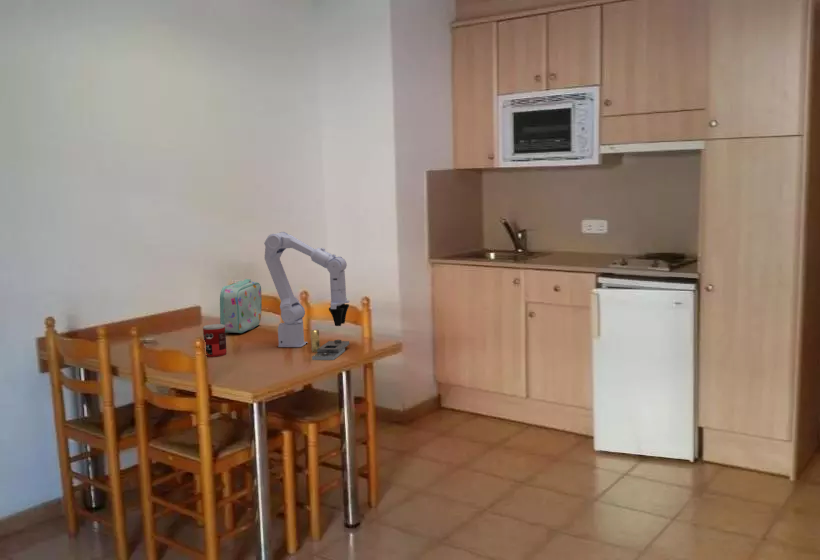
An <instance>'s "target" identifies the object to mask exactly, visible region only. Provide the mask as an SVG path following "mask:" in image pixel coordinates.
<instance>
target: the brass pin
mask: <svg viewBox="0 0 820 560" xmlns="http://www.w3.org/2000/svg"><path fill="white" fill-rule="evenodd" d="M310 341H311V343H310V344H311V352H312V353H318V352H317V349H318V348H320V347H321V345H320V344H321V343H320V330H319V329H311V330H310Z"/></svg>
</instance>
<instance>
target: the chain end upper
mask: <svg viewBox="0 0 820 560" xmlns="http://www.w3.org/2000/svg"><path fill="white" fill-rule="evenodd" d="M349 345H350V340H342V339H334V340H329V341H327V342H326V343H324V344H322V345H320V348H318V349H317V352H316V353H318V352H329V353H339V352H340V351H341V350H343V349H344V348H345V349H346V348H347V347H348V346H349Z"/></svg>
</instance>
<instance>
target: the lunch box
mask: <svg viewBox="0 0 820 560" xmlns="http://www.w3.org/2000/svg"><path fill="white" fill-rule="evenodd" d="M220 290H221V291H220V294H219V317H220V318H219V322H220V323H219V324H223V325H225V334H226V333H233V334H243V333H245V332H247V331H250V330H254V329H255V328H256V327H258V326H259V325H260V323H261V319H262V305H263V304H262V303H263V302H262V285H261V284H260V282H257V281H252V280H251V279H249V278H245V279H244V280H239V281H236V282H234V283H232V284H231V283H230V284H229V285H224V286H223V287H222V288H221V289H220Z"/></svg>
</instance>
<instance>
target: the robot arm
mask: <svg viewBox="0 0 820 560" xmlns="http://www.w3.org/2000/svg"><path fill="white" fill-rule="evenodd" d="M263 243H264V247H265V248H264V260H265V264H266V266H267V269H268V271H269V274H270V276H271V279H272V281H273V284H274V286H275V289H276V292H277V295H278V297H279V300H280V305H279V309H280V318H281V320H282V321H283V322H280V323H279V324H278V326H277V339H278V340H277V342H278V346H277V347H278V348H302V347H304V346H305V345H306V343H307V344H308V343H309V342H308V341H305V334H304V320H303V318H304V317H305V314H306V311H305V307H304V306H303V305H302V304H301V302H300V300H299V299H298V298H297V297H296V296H295V295H294V292H293V290H292V287H291V285H290V282H289V279H288V277H287V275H286V272H285V269H284V267H283V264H282V261H281V257H282V255H283V252H284V251H285V250H286V249H294V250H296V251H298V252H300V253H303V254H304V255H306V256H308V257H310V259H311V261H312V262H313V263H315V264H317V265H319V266H321V267H322V268H324V269H327V271H328V273H329V283H330V288H329V289H330V307H329V308H328V311H329V312H330V314H331V317H332V320H333V323H334V326H335V327H341V326H342V324H345V323H346V316H347V312H348V309H349V307H350V304H349V303H350V300H348V298H347V291H346V288H347V287H346V273H345V272H346V271H345V270H346V269H347V266H348V265H347V261H346V260H345V258H343V257H342V256H337V255H336V254H335V253H333V254H332V253H331V252H328V251H326V248H325V247H317V248H314V247H312V246H311V245H309V244H307V243H305V242H304V241H302V240H301V239H298V238H297V237H296V236H294V235H292V234H288V233H287V232H285V231H281V232H277V233H270V234H268V236H267V238H266V240H264V242H263Z"/></svg>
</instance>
